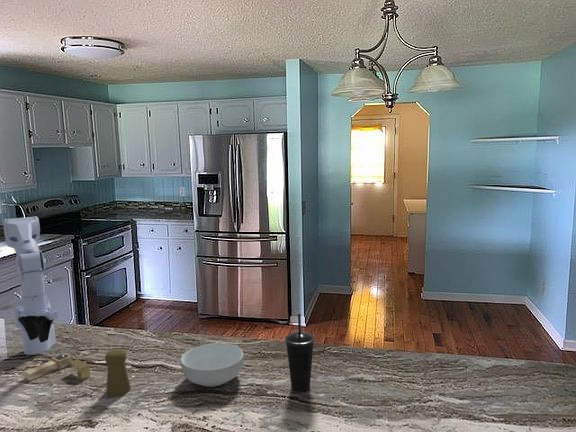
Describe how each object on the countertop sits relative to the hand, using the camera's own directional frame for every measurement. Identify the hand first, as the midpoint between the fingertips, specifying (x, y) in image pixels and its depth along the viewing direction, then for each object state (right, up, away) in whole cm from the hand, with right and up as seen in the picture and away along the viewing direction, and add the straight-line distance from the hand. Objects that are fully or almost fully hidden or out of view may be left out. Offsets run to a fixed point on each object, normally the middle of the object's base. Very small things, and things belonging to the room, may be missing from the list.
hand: (39, 339), depth 127 cm
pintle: (+6, -9, +2) cm, 11 cm away
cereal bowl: (+51, -9, -6) cm, 52 cm away
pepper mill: (+27, -11, -11) cm, 31 cm away
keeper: (+14, -10, -4) cm, 17 cm away
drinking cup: (+75, -10, -11) cm, 76 cm away
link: (+3, -8, -1) cm, 9 cm away
